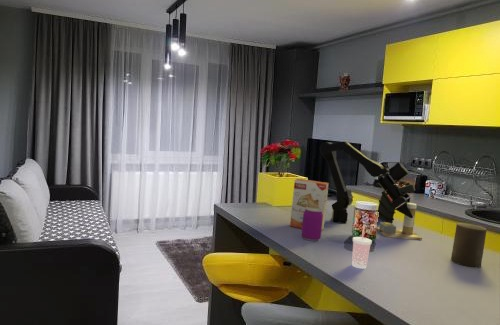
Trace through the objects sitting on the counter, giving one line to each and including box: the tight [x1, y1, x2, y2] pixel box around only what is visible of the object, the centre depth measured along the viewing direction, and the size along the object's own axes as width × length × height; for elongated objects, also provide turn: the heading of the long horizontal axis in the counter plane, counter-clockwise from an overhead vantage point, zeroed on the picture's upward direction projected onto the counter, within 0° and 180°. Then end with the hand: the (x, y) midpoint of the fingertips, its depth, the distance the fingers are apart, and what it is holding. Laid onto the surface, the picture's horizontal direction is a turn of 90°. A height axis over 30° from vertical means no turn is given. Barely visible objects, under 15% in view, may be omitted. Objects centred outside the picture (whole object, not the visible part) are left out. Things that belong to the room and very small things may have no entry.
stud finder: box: [379, 221, 397, 234], centre depth 177 cm, size 5×7×3 cm
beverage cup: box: [351, 224, 373, 269], centre depth 130 cm, size 6×6×14 cm
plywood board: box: [376, 226, 423, 241], centre depth 177 cm, size 16×12×1 cm
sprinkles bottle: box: [402, 202, 418, 234], centre depth 176 cm, size 5×5×14 cm
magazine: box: [377, 190, 396, 224], centre depth 202 cm, size 4×13×15 cm, turn 11°
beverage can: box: [301, 207, 323, 242], centre depth 158 cm, size 8×8×12 cm
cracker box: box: [289, 178, 330, 231], centre depth 173 cm, size 14×6×21 cm, turn 68°
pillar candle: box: [450, 222, 488, 268], centre depth 144 cm, size 10×10×15 cm
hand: (413, 215), depth 175 cm, fingers open, 9 cm apart
